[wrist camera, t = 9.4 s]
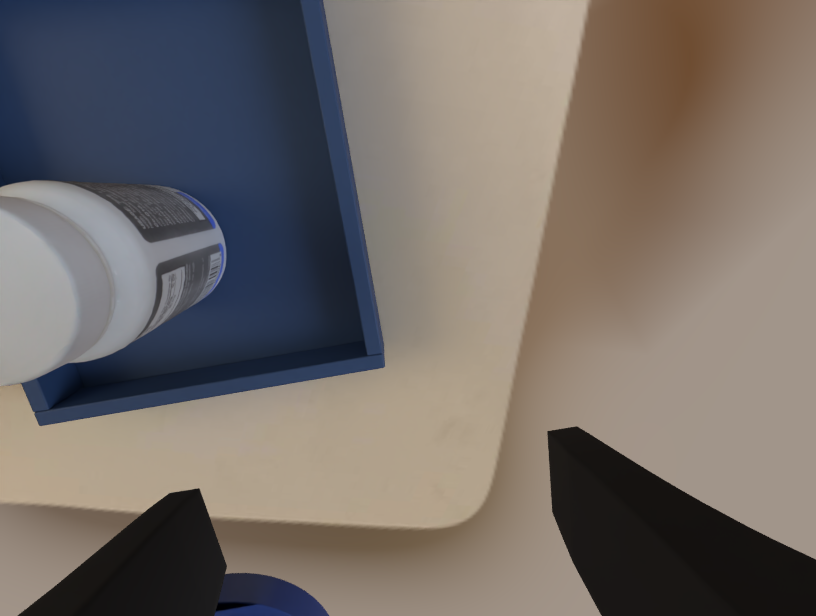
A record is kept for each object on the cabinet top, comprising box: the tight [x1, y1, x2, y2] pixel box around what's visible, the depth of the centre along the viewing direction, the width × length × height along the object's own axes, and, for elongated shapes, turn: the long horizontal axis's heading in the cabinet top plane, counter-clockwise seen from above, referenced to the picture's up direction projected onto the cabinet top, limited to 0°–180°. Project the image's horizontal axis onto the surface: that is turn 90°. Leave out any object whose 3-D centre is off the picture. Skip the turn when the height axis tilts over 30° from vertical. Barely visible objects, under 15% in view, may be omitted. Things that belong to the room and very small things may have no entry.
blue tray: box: [0, 0, 385, 426], centre depth 16 cm, size 15×13×3 cm
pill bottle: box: [0, 180, 226, 386], centre depth 13 cm, size 5×5×8 cm
